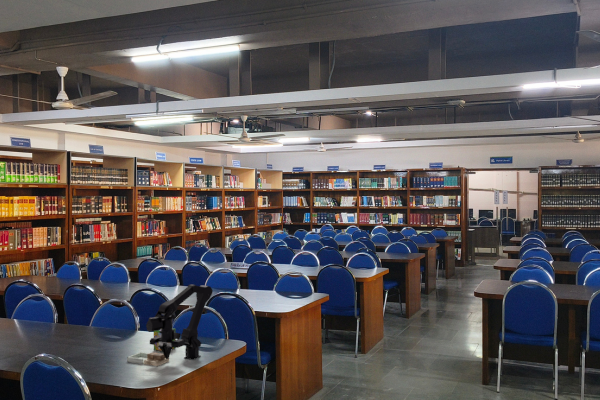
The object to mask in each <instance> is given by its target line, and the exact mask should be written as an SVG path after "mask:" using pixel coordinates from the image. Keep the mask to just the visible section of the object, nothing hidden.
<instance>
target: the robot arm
mask: <svg viewBox="0 0 600 400" xmlns="http://www.w3.org/2000/svg"><path fill="white" fill-rule="evenodd" d="M213 292H214V291H213V287H211V286H209V285H203V284H202V285H200V286H199V285H197V284H188V285H187V287H186V288H184V289H183V290H182V291H181V292H179V293H178V294H177V295H176V296H174V298H172V299H170V300H166V301H165V302H162V303H161V304H160V305H159V308H158V311H157V312H156V313H155V315H154V317H149V318H148V321H147V322H146V325H145V326H146V330H147V332H149V333H152V332H154V331H157V330H161V331H160V333H161V337H154V336H153V337H152V338H150V339H149V345H152V346H154V344H155V343H159V346H158V347H160V349H161V351H160V352H162V354H164V356H165V358H166V359H168V358H169V359H170V355H171V352H172V350H173V349H172V348H173V347H175V349H177V348H181V347H185V352H184V353H185V356H184V357H183V358H184V359H187V360H196V359H199V358H201V355H200V347H201V345H202V342H201V341H200V340H199V339H198V337H199V332H198V327H199V326H200V325H199V324H200V321H201V318H202V316H203V311H204V309H205V306H206V304H207V302H208V301H209V300H210V299H211V297H212V296H213ZM195 293H196V295H195V296H196V303H195V305H194V309H193V311H192V314H191V318H190V319H189V323H188V326H187V327H186V328H182V333H180V332H179V333H178V332H176V333H175V330H173V324H174V323H173V320H175V319H177V317H176V316H175V315H174V314H175V312H176V311H177V309H178V307H179V306H181V304H182V303H184V301H186V300H187V299H189V298H190V297H191V296H192V295H193V294H195ZM175 339H176V340H175ZM173 340H175V341H173Z"/></svg>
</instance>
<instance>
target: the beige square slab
mask: <svg viewBox="0 0 600 400" xmlns="http://www.w3.org/2000/svg"><path fill="white" fill-rule="evenodd" d="M169 362H170V357H169V358H168V359H166V358H165V359H163V360H161V361H158V360H151V359H146V360H144V364H143V365H149V366H155V367H158V366H161V365H164V364H166V363H169Z"/></svg>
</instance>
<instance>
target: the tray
mask: <svg viewBox="0 0 600 400" xmlns="http://www.w3.org/2000/svg"><path fill="white" fill-rule="evenodd" d="M147 354H149V352H148V353H147V352H142V351H141V352H138V353H136V354H132V355H129V356H126V360H127V361H126V362H127V363H132V364H140V365H145V364H144V360H146V359H147Z"/></svg>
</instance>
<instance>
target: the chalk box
mask: <svg viewBox="0 0 600 400" xmlns="http://www.w3.org/2000/svg"><path fill="white" fill-rule="evenodd" d="M173 330H175V333H177V332H176V330H177V329H176V328H175V327H174V328H173ZM160 331H161V330H157V331H153V338H154V337H161V333H160ZM175 340H177V339H175ZM175 340H173V341H175ZM158 346H159V343H155V344H154V345H153V350H154V351H160V352H162V351H161V349H160V347H158ZM174 349H176V348H175V347H173V348H172V350H174Z"/></svg>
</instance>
